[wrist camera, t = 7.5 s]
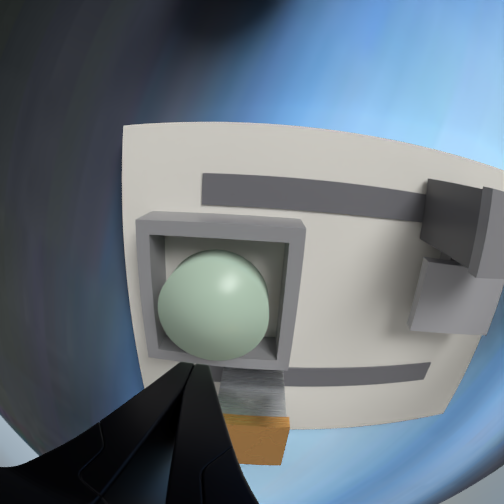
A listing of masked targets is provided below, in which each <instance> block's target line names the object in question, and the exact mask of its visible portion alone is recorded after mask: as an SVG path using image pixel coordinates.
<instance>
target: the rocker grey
mask: <svg viewBox="0 0 504 504" xmlns="http://www.w3.org/2000/svg"><path fill="white" fill-rule="evenodd" d="M503 286H504V279H487V278H475V277H474V276H472V275H471V274H469V273H468V268H466V267H465V266H463V265H462V264H460V263H459V262H457V261H450V260H443V259H436V258H429V257H423V262H422V267H421V271H420V275H419V280H418V284H417V288H416V292H415V296H414V299H413V303H412V307H411V310H410V314H409V317H408V320H407V325H408V327H409V330H410V331H420V332H434V333H449V334H466V335H487V332H488V330H489V327H490V324H491V322H492V319H493V316H494V313H495V311H496V308H497V305H498V302H499V299H500V296H501V292H502V289H503Z"/></svg>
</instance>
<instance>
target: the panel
mask: <svg viewBox="0 0 504 504" xmlns="http://www.w3.org/2000/svg"><path fill="white" fill-rule="evenodd" d="M428 178H429V179H435V180H440V181H446V182H451V183H456V184H461V185H466V186H471V187H475V188H480V189H483V186H484V187H489V188H493V189H497V190H500V191H503V192H504V170H501V169H498V168H495V167H492V166H489V165H486V164H483V163H480V162H477V161H474V160H471V159H467V158H464V157H460V156H457V155H453V154H450V153H446V152H442V151H438V150H435V149H431V148H426V147H422V146H418V145H414V144H409V143H405V142H400V141H395V140H390V139H385V138H379V137H374V136H368V135H362V134H356V133H349V132H343V131H335V130H328V129H319V128H310V127H301V126H290V125H277V124H261V123H239V122H176V123H153V124H138V125H126V126H124V128H123V150H122V211H123V234H124V250H125V263H126V274H127V284H128V293H129V301H130V309H131V316H132V323H133V330H134V336H135V342H136V348H137V354H138V359H139V364H140V369H141V374H142V379H143V384H144V388H146V387H148V386H149V385H150V384H152V383H153V382H154V381H156V380H157V379H158V378H160V377H161V376H162V375H163V374H165V373H166V372H167V371H169V370H170V369H171V368H173V367H174V366H175V365H177V364H178V363H179V362H189V363H193V364H194V365H195V364H206V365H209V366H210V370H211V373H212V377H213V381H214V384H215V388H216V392H217V395H218V394H219V388H220V383H221V378H222V373H223V368H224V367H233V368H246V369H262V370H283V374H284V388H285V402H286V417H289V421H290V429H330V428H347V427H359V426H369V425H378V424H386V423H393V422H400V421H406V420H412V419H418V418H423V417H428V416H433V415H438V414H443V413H444V411H445V409H446V408H447V406H448V404H449V402H450V401H451V399H452V397H453V395H454V393H455V391H456V390H457V388H458V386H459V384H460V382H461V380H462V378H463V376H464V374H465V372H466V370H467V368H468V366H469V363H470V361H471V359H472V357H473V355H474V352H475V350H476V348H477V345H478V343H479V341H480V338H481V336H482V335H466V334H449V333H434V332H420V331H410V330H409V327H408V325H407V320H408V317H409V314H410V310H411V307H412V303H413V299H414V296H415V292H416V288H417V284H418V280H419V275H420V271H421V267H422V262H423V257H429V258H436V259H443V260H450V261H455V260H454V259H452V258H451V257H449V256H447V255H446V254H444V253H442V252H441V251H439V250H438V249H436V248H434V247H433V246H431V245H429V244H428V243H426V242H424V241H422V240H421V239H420V233H421V227H422V221H423V214H424V207H425V200H426V191H427V182H428ZM212 249H218V250H226V251H230V252H233V253H236V254H238V255H240V256H242V257H244V258H245V259H247V260H248V261H250V262H251V263H252V264H253V265H254V266H255V267H256V268H257V269H258V270H259V272H260V273H261V275H262V276H263V278H264V280H265V282H266V285H267V289H268V295H269V322H268V327H267V330H266V333H265V335H264V337H263V339H262V340H261V341H260V343H259V344H258V345H257V346H256V347H255V348H254V349H253V350H251V351H250V352H248V353H247V354H245V355H243V356H241V357H238V358H235V359H231V360H224V361H213V360H206V359H202V358H198V357H196V356H193V355H191V354H189V353H187V352H185V351H184V350H182V349H181V348H180V347H178V346H177V345H176V344H175V343H174V342H173V341H172V340H171V339H170V338H169V337H168V335H167V334H166V332H165V331H164V329H163V327H162V325H161V322H160V319H159V315H158V298H159V294H160V291H161V289H162V287H163V285H164V284H165V282H166V281H167V279H168V278H169V277H170V275H171V274H172V273H173V272H174V270H175V269H176V268H177V266H178V265H179V264H180V263H181V262H182V261H183V260H185V259H186V258H187V257H189V256H191V255H192V254H195V253H197V252H200V251H204V250H212Z"/></svg>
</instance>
